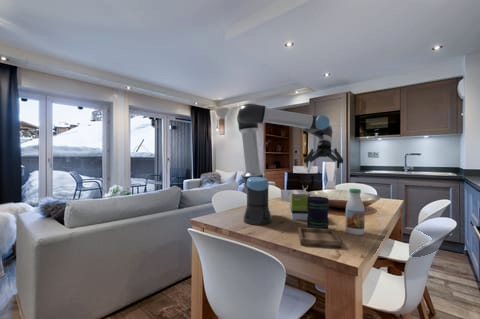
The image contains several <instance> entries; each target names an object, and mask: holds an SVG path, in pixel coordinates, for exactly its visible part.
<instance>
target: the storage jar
mask: <svg viewBox="0 0 480 319" xmlns="http://www.w3.org/2000/svg"><path fill="white" fill-rule="evenodd" d="M307 199H308V200H307V202H308V203H307V209H308V217H307V220H306V225H307V227H306V228H318V229H329V224H330V222H329V206H330V205H329V200H330V199H329V198H328V197H325V196H316V195H313V196H310V197H307Z"/></svg>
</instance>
